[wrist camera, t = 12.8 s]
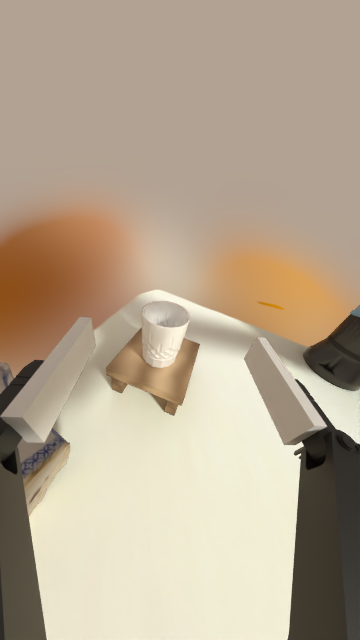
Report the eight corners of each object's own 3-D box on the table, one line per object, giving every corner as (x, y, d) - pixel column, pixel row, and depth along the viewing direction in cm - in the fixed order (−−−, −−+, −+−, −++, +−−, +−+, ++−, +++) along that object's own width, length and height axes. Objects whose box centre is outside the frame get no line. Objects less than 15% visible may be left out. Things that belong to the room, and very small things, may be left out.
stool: (192, 363, 41) (199, 344, 37) (175, 419, 29) (183, 399, 25) (142, 345, 42) (144, 324, 38) (108, 390, 31) (106, 367, 27)
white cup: (130, 356, 30) (131, 312, 24) (155, 335, 36) (160, 296, 30) (165, 379, 28) (175, 335, 22) (185, 352, 34) (197, 313, 28)
